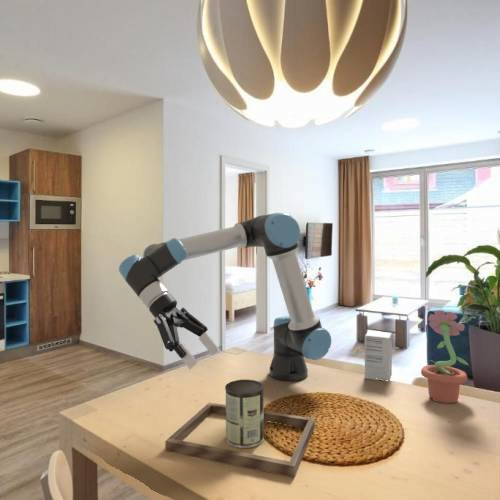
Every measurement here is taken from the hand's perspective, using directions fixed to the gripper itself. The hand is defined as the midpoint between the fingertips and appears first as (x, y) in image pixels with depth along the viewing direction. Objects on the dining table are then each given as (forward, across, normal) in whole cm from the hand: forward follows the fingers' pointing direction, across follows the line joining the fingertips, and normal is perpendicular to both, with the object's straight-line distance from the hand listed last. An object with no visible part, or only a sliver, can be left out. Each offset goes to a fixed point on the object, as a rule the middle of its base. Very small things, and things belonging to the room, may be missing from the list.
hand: (205, 358), depth 106 cm
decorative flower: (+60, -47, +32) cm, 83 cm away
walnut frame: (+22, -1, -6) cm, 23 cm away
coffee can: (+22, -1, -6) cm, 23 cm away
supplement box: (+45, -64, +17) cm, 80 cm away
